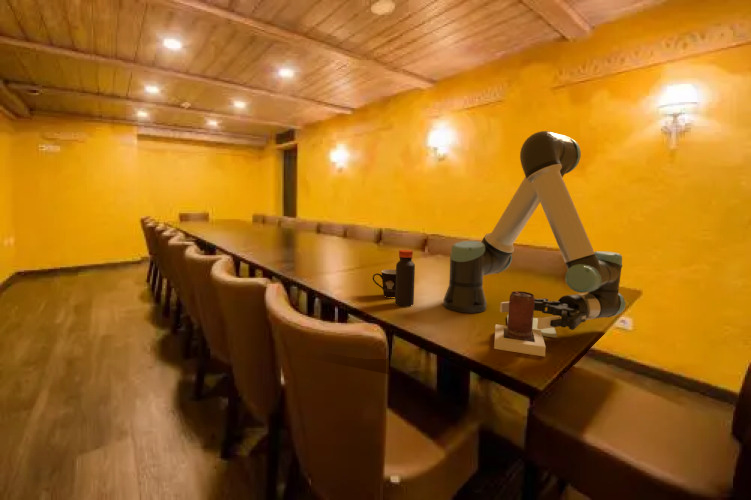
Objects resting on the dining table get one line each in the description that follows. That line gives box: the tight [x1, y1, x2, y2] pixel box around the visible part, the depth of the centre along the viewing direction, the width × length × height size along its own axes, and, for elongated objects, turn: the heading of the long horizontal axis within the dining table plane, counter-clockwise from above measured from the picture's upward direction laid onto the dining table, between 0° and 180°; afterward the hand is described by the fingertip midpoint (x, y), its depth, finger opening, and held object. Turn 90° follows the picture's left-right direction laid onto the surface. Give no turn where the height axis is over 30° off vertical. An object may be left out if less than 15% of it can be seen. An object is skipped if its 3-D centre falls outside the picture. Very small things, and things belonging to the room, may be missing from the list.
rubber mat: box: [506, 314, 558, 339], centre depth 105 cm, size 13×13×1 cm
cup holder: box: [493, 324, 547, 358], centre depth 93 cm, size 12×12×2 cm
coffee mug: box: [372, 269, 396, 298], centre depth 137 cm, size 12×9×10 cm
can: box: [506, 290, 536, 342], centre depth 92 cm, size 6×6×14 cm
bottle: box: [394, 249, 416, 307], centre depth 125 cm, size 7×7×20 cm
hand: (518, 315), depth 91 cm, fingers open, 13 cm apart
